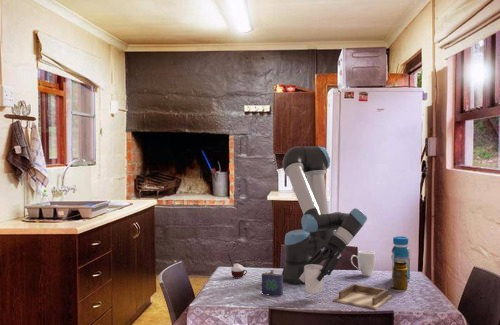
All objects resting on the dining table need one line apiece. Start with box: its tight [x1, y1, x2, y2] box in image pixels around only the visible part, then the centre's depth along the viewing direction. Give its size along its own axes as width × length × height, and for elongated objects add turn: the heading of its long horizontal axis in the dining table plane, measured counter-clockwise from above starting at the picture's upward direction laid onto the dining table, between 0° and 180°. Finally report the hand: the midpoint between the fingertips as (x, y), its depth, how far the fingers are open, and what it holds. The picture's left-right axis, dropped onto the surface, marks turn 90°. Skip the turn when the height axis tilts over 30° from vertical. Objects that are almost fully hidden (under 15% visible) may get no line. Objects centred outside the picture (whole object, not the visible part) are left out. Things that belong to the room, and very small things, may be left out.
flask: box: [261, 269, 284, 295], centre depth 194 cm, size 9×3×11 cm, turn 74°
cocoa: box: [226, 252, 248, 278], centre depth 223 cm, size 10×6×12 cm, turn 82°
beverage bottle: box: [390, 235, 411, 282], centre depth 215 cm, size 8×8×20 cm
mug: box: [350, 249, 376, 277], centre depth 224 cm, size 12×8×11 cm
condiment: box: [386, 260, 412, 293], centre depth 201 cm, size 7×8×12 cm
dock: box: [332, 283, 393, 310], centre depth 186 cm, size 18×18×3 cm
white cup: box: [304, 264, 324, 294], centre depth 187 cm, size 8×8×10 cm
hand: (306, 283), depth 186 cm, fingers closed on white cup, 8 cm apart
